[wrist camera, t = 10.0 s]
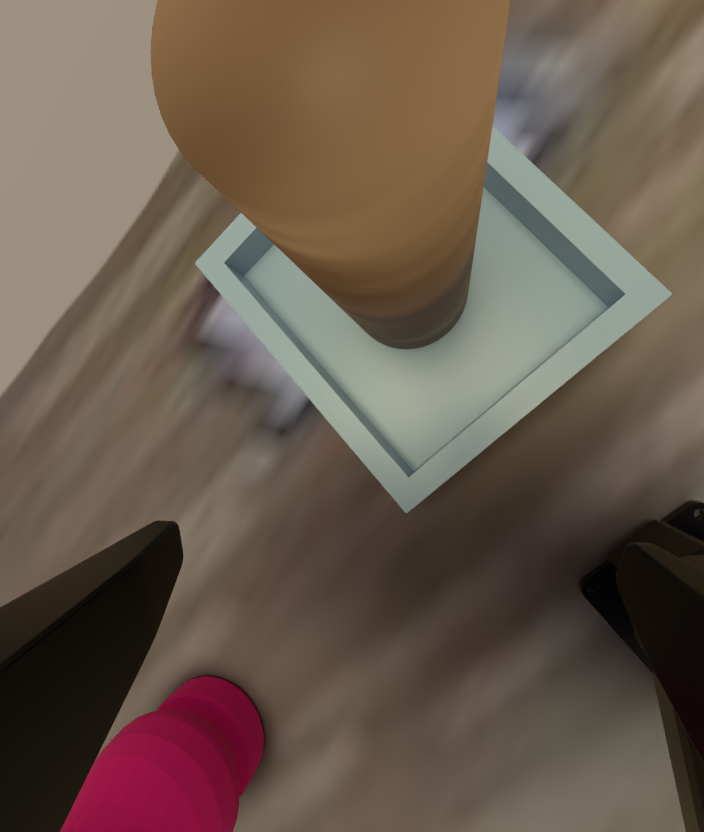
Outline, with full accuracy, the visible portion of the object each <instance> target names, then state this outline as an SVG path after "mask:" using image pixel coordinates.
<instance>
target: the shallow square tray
mask: <svg viewBox="0 0 704 832" xmlns="http://www.w3.org/2000/svg"><path fill="white" fill-rule="evenodd" d="M195 264H196V265H197V266H198V268H199V269H200V270H201V271H202V272H203V274H204V275H205V276H206V277H207V278H208V280H209V281H210V282H211V283H212V284H213V285H214V287H215V288H216V289H217V290H218V291H219V293H220V294H221V295H222V296H223V297H224V298H225V300H226V301H227V302H228V303H229V304H230V306H231V307H232V308H233V309H234V310H235V312H236V313H237V314H238V315H239V316H240V317H241V319H242V320H243V321H244V322H245V323H246V325H247V326H248V327H249V328H250V329H251V330H252V332H253V333H254V334H255V335H256V336H257V338H258V339H259V340H260V341H261V342H262V344H263V345H264V346H265V347H266V348H267V349H268V351H269V352H270V353H271V354H272V355H273V357H274V358H275V359H276V360H277V361H278V362H279V364H280V365H281V366H282V367H283V368H284V370H285V371H286V372H287V373H288V374H289V376H290V377H291V378H292V379H293V380H294V381H295V383H296V384H297V385H298V386H299V387H300V389H301V390H302V391H303V392H304V393H305V394H306V396H307V397H308V398H309V399H310V400H311V402H312V403H313V404H314V405H315V406H316V408H317V409H318V410H319V411H320V412H321V413H322V415H323V416H324V417H325V418H326V419H327V421H328V422H329V423H330V424H331V425H332V426H333V428H334V429H335V430H336V431H337V432H338V434H339V435H340V436H341V437H342V438H343V440H344V441H345V442H346V443H347V444H348V445H349V447H350V448H351V449H352V450H353V451H354V453H355V454H356V455H357V456H358V457H359V458H360V460H361V461H362V462H363V463H364V464H365V466H366V467H367V468H368V469H369V470H370V472H371V473H372V474H373V475H374V476H375V477H376V479H377V480H378V481H379V482H380V483H381V485H382V486H383V487H384V488H385V489H386V490H387V492H388V493H389V494H390V495H391V496H392V498H393V499H394V500H395V501H396V502H397V504H398V505H399V506H400V507H401V508H402V509H403V511H404V512H405V513H406V514H407V513H408V512H409V511H410V510H412V509H413V508H414V507H415V506H416V505H418V504H419V503H420V502H421V501H422V500H424V499H425V498H426V497H427V496H429V495H430V494H431V493H432V492H433V491H435V490H436V489H437V488H438V487H439V486H441V485H442V484H443V483H444V482H445V481H447V480H448V479H449V478H450V477H452V476H453V475H454V474H455V473H456V472H458V471H459V470H460V469H461V468H462V467H464V466H465V465H466V464H467V463H469V462H470V461H471V460H472V459H473V458H475V457H476V456H477V455H478V454H479V453H481V452H482V451H483V450H484V449H485V448H487V447H488V446H489V445H490V444H492V443H493V442H494V441H495V440H496V439H498V438H499V437H500V436H501V435H502V434H504V433H505V432H506V431H507V430H508V429H510V428H511V427H512V426H513V425H515V424H516V423H517V422H518V421H519V420H521V419H522V418H523V417H524V416H525V415H527V414H528V413H529V412H530V411H532V410H533V409H534V408H535V407H536V406H538V405H539V404H540V403H541V402H542V401H544V400H545V399H546V398H547V397H548V396H550V395H551V394H552V393H553V392H555V391H556V390H557V389H558V388H559V387H561V386H562V385H563V384H564V383H565V382H567V381H568V380H569V379H570V378H572V377H573V376H574V375H575V374H576V373H578V372H579V371H580V370H581V369H582V368H584V367H585V366H586V365H587V364H588V363H590V362H591V361H592V360H593V359H595V358H596V357H597V356H598V355H599V354H601V353H602V352H603V351H604V350H605V349H607V348H608V347H609V346H610V345H611V344H613V343H614V342H615V341H616V340H618V339H619V338H620V337H621V336H622V335H624V334H625V333H626V332H627V331H628V330H630V329H631V328H632V327H633V326H635V325H636V324H637V323H638V322H639V321H641V320H642V319H643V318H644V317H645V316H647V315H648V314H649V313H650V312H651V311H653V310H654V309H655V308H656V307H658V306H659V305H660V304H661V303H662V302H664V301H665V300H666V299H667V298H668V297H670V296H671V295H672V293H671V292H670V291H669V290H668V289H667V288H665V287H664V286H663V285H662V284H661V283H660V282H659V281H658V280H657V279H656V278H655V277H654V276H653V275H652V274H650V273H649V272H648V271H647V270H646V269H645V268H644V267H643V266H642V265H641V264H640V263H639V262H638V261H637V260H635V259H634V258H633V257H632V256H631V255H630V254H629V253H628V252H627V251H626V250H625V249H624V248H623V247H622V246H620V245H619V244H618V243H617V242H616V241H615V240H614V239H613V238H612V237H611V236H610V235H609V234H608V233H607V232H605V231H604V230H603V229H602V228H601V227H600V226H599V225H598V224H597V223H596V222H595V221H594V220H593V219H592V218H590V217H589V216H588V215H587V214H586V213H585V212H584V211H583V210H582V209H581V208H580V207H579V206H578V205H577V204H575V203H574V202H573V201H572V200H571V199H570V198H569V197H568V196H567V195H566V194H565V193H564V192H563V191H562V190H560V189H559V188H558V187H557V186H556V185H555V184H554V183H553V182H552V181H551V180H550V179H549V178H548V177H547V176H545V175H544V174H543V173H542V172H541V171H540V170H539V169H538V168H537V167H536V166H535V165H534V164H533V163H532V162H530V161H529V160H528V159H527V158H526V157H525V156H524V155H523V154H522V153H521V152H520V151H519V150H518V149H517V148H515V147H514V146H513V145H512V144H511V143H510V142H509V141H508V140H507V139H506V138H505V137H504V136H503V135H502V134H500V133H499V132H498V131H497V130H496V129H495V128H494V127H493V126H492V132H491V139H490V146H489V153H488V160H487V167H486V173H485V180H484V187H483V194H482V201H481V208H480V215H479V222H478V229H477V236H476V243H475V250H474V257H473V264H472V270H471V277H470V284H469V291H468V297H467V302H466V305H465V308H464V311H463V313H462V315H461V317H460V319H459V320H458V322H457V323H456V324H455V326H454V327H453V328H452V329H451V330H450V331H449V332H448V333H447V334H446V335H445V336H443V337H442V338H440V339H439V340H437V341H436V342H434V343H432V344H430V345H427V346H424V347H420V348H416V349H397V348H392V347H389V346H386V345H383V344H381V343H379V342H378V341H376V340H375V339H373V338H372V337H371V336H369V335H368V334H367V333H366V332H365V331H364V330H363V329H362V328H361V327H360V326H359V325H358V324H357V323H356V322H355V321H354V320H353V319H352V318H350V317H349V316H348V315H347V314H346V313H345V312H344V311H343V310H342V309H341V308H340V307H339V306H338V305H337V304H336V303H335V302H334V301H333V300H332V299H331V298H330V297H329V296H328V295H326V294H325V293H324V292H323V291H322V290H321V289H320V288H319V287H318V286H317V285H316V284H315V283H314V282H313V281H312V280H311V279H310V278H309V277H308V276H307V275H306V274H305V273H303V272H302V271H301V270H300V269H299V268H298V267H297V266H296V265H295V264H294V263H293V262H292V261H291V260H290V259H289V258H288V257H287V256H286V255H285V254H284V253H283V252H282V251H280V250H279V249H278V248H277V247H276V246H275V245H274V244H273V243H272V242H271V241H270V240H269V239H268V238H267V237H266V236H265V235H264V234H263V233H262V232H261V231H260V230H259V229H258V228H256V227H255V226H254V225H253V224H252V223H251V222H250V221H249V220H248V219H247V218H246V217H245V216H244V215H243V214H242V213H240V215H239V216H238V217H237V218H236V219H235V220H234V221H233V222H232V223H231V224H230V225H229V227H228V228H227V229H226V230H225V231H224V232H223V233H222V234H221V235H220V236H219V238H218V239H217V240H216V241H215V242H214V243H213V244H212V245H211V246H210V247H209V248H208V250H207V251H206V252H205V253H204V254H203V255H202V256H201V257H200V258H199V259H198V261H197V262H196V263H195Z"/></svg>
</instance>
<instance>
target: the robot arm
mask: <svg viewBox="0 0 704 832" xmlns="http://www.w3.org/2000/svg"><path fill="white" fill-rule="evenodd" d="M698 508H701V510H702V515H701V516H700V517H698V518H695V517H694V511H695V510H696V509H698ZM182 562H183V549H182V543H181V536H180V530H179V526H178V524H177V523H176V522H175V521H154V522H152V523H151V524H149V525H147V526H145V527H143V528H142V529H140V530H138V531H136V532H135V533H133V534H131V535H129V536H127V537H126V538H124V539H122V540H120V541H118V542H117V543H115V544H113V545H111V546H109V547H108V548H106V549H104V550H102V551H100V552H99V553H97V554H95V555H93V556H91V557H90V558H88V559H86V560H84V561H82V562H81V563H79V564H77V565H75V566H74V567H72V568H70V569H68V570H66V571H65V572H63V573H61V574H59V575H57V576H56V577H54V578H52V579H50V580H48V581H47V582H45V583H43V584H41V585H39V586H38V587H36V588H34V589H32V590H30V591H29V592H27V593H25V594H23V595H21V596H20V597H18V598H16V599H14V600H12V601H11V602H9V603H7V604H5V605H4V606H2V607H0V832H60V831H61V829H62V827H63V825H64V823H65V821H66V819H67V817H68V815H69V813H70V810H71V808H72V806H73V804H74V802H75V800H76V798H77V796H78V794H79V792H80V790H81V788H82V786H83V784H84V782H85V780H86V778H87V776H88V774H89V772H90V770H91V768H92V766H93V764H94V762H95V759H96V757H97V755H98V753H99V751H100V749H101V747H102V745H103V743H104V741H105V739H106V737H107V735H108V733H109V731H110V729H111V727H112V725H113V723H114V721H115V719H116V717H117V715H118V713H119V711H120V708H121V706H122V704H123V702H124V700H125V698H126V696H127V694H128V692H129V690H130V688H131V686H132V684H133V682H134V680H135V678H136V676H137V674H138V672H139V670H140V668H141V666H142V664H143V662H144V660H145V657H146V655H147V653H148V651H149V649H150V647H151V645H152V643H153V641H154V638H155V636H156V634H157V631H158V629H159V626H160V624H161V621H162V618H163V615H164V613H165V610H166V607H167V604H168V602H169V599H170V596H171V594H172V591H173V588H174V585H175V583H176V580H177V577H178V574H179V572H180V569H181V566H182ZM591 584H595V585H597V589H596V590H595V591H594V592H589V591H587V588H588V586H589V585H591ZM579 589H580V591H581V592H582V594H583V595H584V597H585V598H586V599H587V600H588V601H589V602H590V603H591V604H592V606H593V607H594V608H595V609H596V610H597V611H598V612H599V613H600V615H601V616H602V617H603V618H604V619H605V620H606V621H607V622H608V624H609V625H610V626H611V627H612V628H613V629H614V630H615V631H616V632H617V634H618V635H619V636H620V637H621V638H622V639H623V640H624V641H625V643H626V644H627V645H628V646H629V647H630V648H631V649H632V650H633V652H634V653H635V654H636V655H637V656H638V657H639V658H640V659H641V661H642V662H643V663H644V664H645V665H646V666H647V667H648V668H649V670H650V671H651V672H652V674H653V679H654V683H655V688H656V693H657V697H658V702H659V707H660V712H661V716H662V721H663V726H664V730H665V735H666V740H667V744H668V749H669V754H670V759H671V763H672V768H673V773H674V777H675V782H676V787H677V792H678V796H679V801H680V806H681V810H682V815H683V820H684V824H685V829H686V832H704V503H703V502H699V501H690V502H688V503H686V504H685V505H683V506H682V507H681V508H679V509H678V510H676V511H675V512H674V513H672V514H671V515H669V516H668V517H667V518H665V519H664V520H662V521H657V520H654V521H652V522H651V523H649V524H648V525H647V526H645V527H644V528H642V529H641V530H640V531H638V532H637V533H635V534H634V535H633V536H631V537H630V538H629V539H627V540H626V541H624V542H623V543H622V544H620V545H619V546H617V547H616V548H615V549H613V550H612V551H610V552H609V555H608V560H607V561H605V562H604V563H603V564H601V565H600V566H598V567H597V568H596V569H594V570H593V571H591V572H590V573H589V574H587V575H586V576H585V577H583V578H582V579H581V580H580V583H579Z"/></svg>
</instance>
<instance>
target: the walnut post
mask: <svg viewBox="0 0 704 832" xmlns="http://www.w3.org/2000/svg"><path fill="white" fill-rule="evenodd" d="M509 6H510V0H158V2H157V6H156V11H155V16H154V22H153V28H152V40H151V67H152V68H151V69H152V78H153V84H154V90H155V96H156V99H157V103H158V106H159V109H160V113H161V116H162V118H163V120H164V123H165V125H166V127H167V129H168V132H169V134H170V136H171V137H172V139H173V140H174V142H175V144H176V145H177V147H178V149H179V150H180V152H181V153H182V154H183V155H184V157H185V158H186V159H187V160H188V161H189V163H190V164H191V165H192V166H193V167H194V168H195V169H196V170H197V171H198V172H199V173H200V174H201V175H202V176H203V177H204V178H205V179H206V180H207V181H208V182H209V183H210V184H212V185H213V186H214V187H215V188H216V189H217V190H218V191H219V192H220V193H221V194H222V195H223V196H224V197H225V198H226V199H227V200H228V201H229V202H230V203H231V204H232V205H233V206H235V207H236V208H237V209H238V210H239V211H240V212H241V213H242V214H243V215H244V216H245V217H246V218H247V219H248V220H249V221H250V222H251V223H252V224H253V225H254V226H255V227H256V228H258V229H259V230H260V231H261V232H262V233H263V234H264V235H265V236H266V237H267V238H268V239H269V240H270V241H271V242H272V243H273V244H274V245H275V246H276V247H277V248H278V249H279V250H280V251H282V252H283V253H284V254H285V255H286V256H287V257H288V258H289V259H290V260H291V261H292V262H293V263H294V264H295V265H296V266H297V267H298V268H299V269H300V270H301V271H302V272H303V273H305V274H306V275H307V276H308V277H309V278H310V279H311V280H312V281H313V282H314V283H315V284H316V285H317V286H318V287H319V288H320V289H321V290H322V291H323V292H324V293H325V294H326V295H328V296H329V297H330V298H331V299H332V300H333V301H334V302H335V303H336V304H337V305H338V306H339V307H340V308H341V309H342V310H343V311H344V312H345V313H346V314H347V315H348V316H349V317H350V318H352V319H353V320H354V321H355V322H356V323H357V324H358V325H359V326H360V327H361V328H362V329H363V330H364V331H365V332H366V333H367V334H368V335H369V336H371V337H372V338H373V339H375V340H376V341H378V342H379V343H381V344H383V345H386V346H389V347H392V348H397V349H416V348H420V347H424V346H427V345H430V344H432V343H434V342H436V341H437V340H439V339H440V338H442V337H443V336H445V335H446V334H447V333H448V332H449V331H450V330H451V329H452V328H453V327H454V326H455V324H456V323H457V322H458V320H459V319H460V317H461V315H462V313H463V311H464V308H465V305H466V302H467V297H468V291H469V284H470V277H471V270H472V264H473V257H474V250H475V243H476V236H477V229H478V222H479V215H480V208H481V201H482V194H483V187H484V180H485V173H486V167H487V160H488V153H489V146H490V139H491V132H492V125H493V118H494V111H495V104H496V97H497V90H498V83H499V76H500V70H501V63H502V56H503V49H504V42H505V35H506V28H507V21H508V14H509Z"/></svg>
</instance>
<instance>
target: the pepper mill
mask: <svg viewBox="0 0 704 832" xmlns="http://www.w3.org/2000/svg"><path fill="white" fill-rule="evenodd" d="M263 748H264V732H263V728H262V724H261V720H260V717H259V714H258V712H257V710H256V709H255V707H254V705H253V703H252V702H251V700H250V699H249V698H248V697H247V696H246V695H245V694H244V692H243V691H242V690H241V689H239V688H238V687H236V686H234V685H233V684H231V683H230V682H228V681H226V680H223V679H220V678H216V677H209V676H203V677H198V678H194V679H191V680H189V681H187V682H185V683H184V684H183V685H181V686H180V687H179V688H178V689H177V690H176V691H175V692H174V693H173V694H172V695H171V696H170V697H169V698H168V699H167V700H166V701H165V702H164V703H163V704H162V705H161V706H160V707H159V708H158V710H157V711H155V712H151V713H148V714H145V715H143V716H140V717H138V718H136V719H135V720H133V721H132V722H131V723H129V724H128V725H127V726H125V727H124V728H123V729H122V730H121V731H120V732H119V733H118V734H117V735H116V736H115V737H114V739H113V740H112V741H111V742H110V743H109V744H108V745H107V746H106V747H105V748H104V749H103V751H102V752H101V753H100V755H99V756H98V757H97V759H96V761H95V762H94V764H93V766H92V768H91V770H90V772H89V774H88V776H87V778H86V780H85V782H84V784H83V786H82V788H81V790H80V792H79V794H78V796H77V798H76V800H75V802H74V804H73V806H72V808H71V810H70V813H69V815H68V817H67V819H66V821H65V823H64V825H63V827H62V829H61V831H60V832H233V829H234V826H235V822H236V819H237V814H238V807H239V797H240V796H241V795H242V794H243V792H244V791H245V789H246V787H247V785H248V783H249V782H250V780H251V778H252V776H253V775H254V773H255V771H256V769H257V767H258V766H259V764H260V761H261V757H262V754H263Z"/></svg>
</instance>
